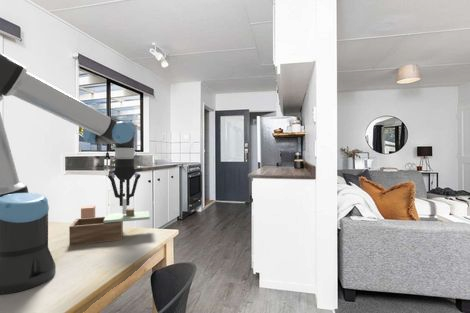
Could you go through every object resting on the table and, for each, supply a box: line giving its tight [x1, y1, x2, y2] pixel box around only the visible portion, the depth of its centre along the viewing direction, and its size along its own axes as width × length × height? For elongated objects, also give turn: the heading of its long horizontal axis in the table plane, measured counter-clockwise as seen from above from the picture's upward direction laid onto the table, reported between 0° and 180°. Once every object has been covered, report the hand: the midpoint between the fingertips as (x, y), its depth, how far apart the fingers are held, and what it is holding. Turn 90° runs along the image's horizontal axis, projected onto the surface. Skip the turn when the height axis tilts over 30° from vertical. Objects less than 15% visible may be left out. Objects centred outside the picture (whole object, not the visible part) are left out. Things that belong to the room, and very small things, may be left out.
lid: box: [104, 207, 151, 223], centre depth 109 cm, size 11×17×4 cm, turn 111°
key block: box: [80, 205, 96, 219], centre depth 117 cm, size 5×5×10 cm
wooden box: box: [68, 216, 124, 246], centre depth 105 cm, size 12×18×7 cm, turn 111°
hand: (124, 213), depth 109 cm, fingers closed
